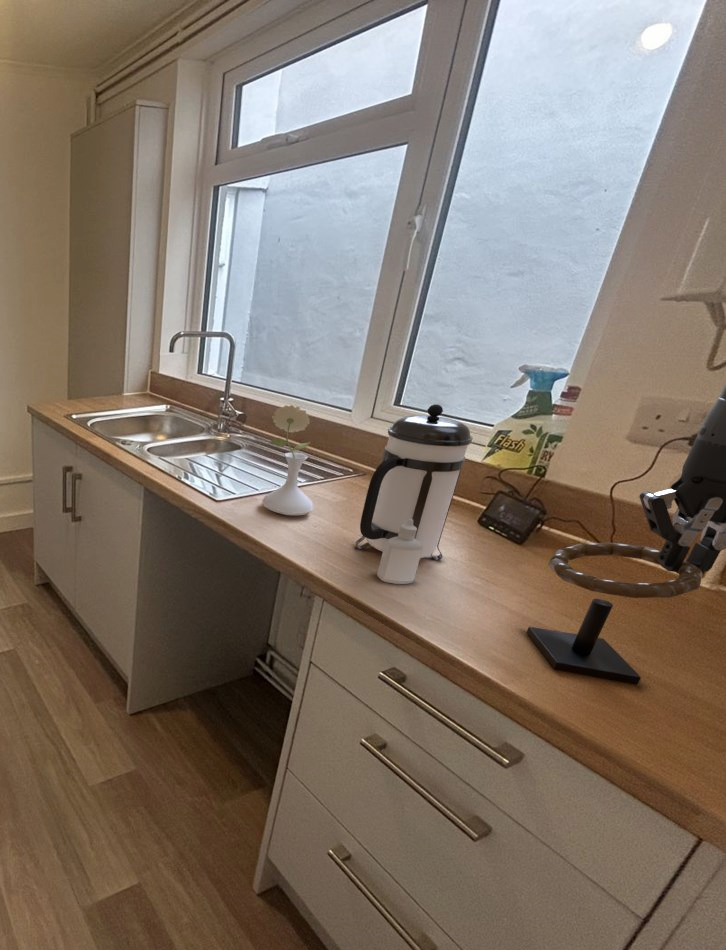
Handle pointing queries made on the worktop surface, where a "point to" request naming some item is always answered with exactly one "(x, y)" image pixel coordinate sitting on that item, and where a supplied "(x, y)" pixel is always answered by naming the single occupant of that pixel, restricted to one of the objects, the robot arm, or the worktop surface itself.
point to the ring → (559, 564)
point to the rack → (584, 648)
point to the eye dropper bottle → (401, 556)
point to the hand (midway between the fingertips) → (680, 570)
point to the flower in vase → (290, 465)
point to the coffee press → (415, 480)
